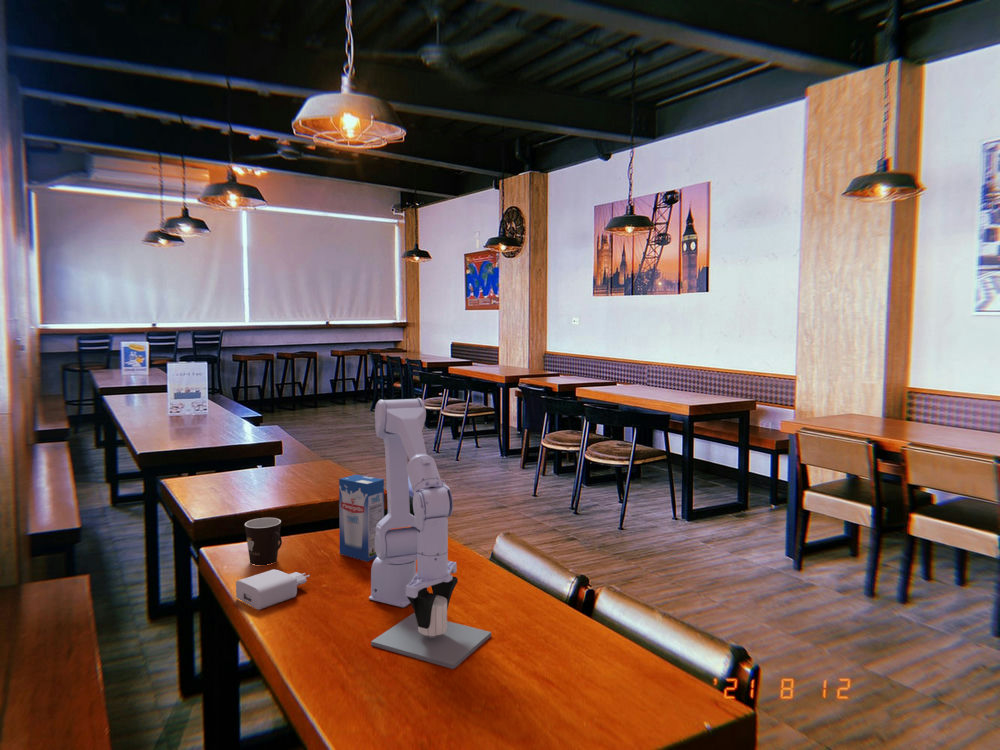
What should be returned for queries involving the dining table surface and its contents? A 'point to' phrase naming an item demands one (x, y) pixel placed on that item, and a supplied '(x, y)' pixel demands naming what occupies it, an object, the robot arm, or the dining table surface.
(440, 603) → the paper roll
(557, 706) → the dining table surface
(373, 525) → the milk carton
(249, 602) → the charger
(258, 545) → the coffee mug
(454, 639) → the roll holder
